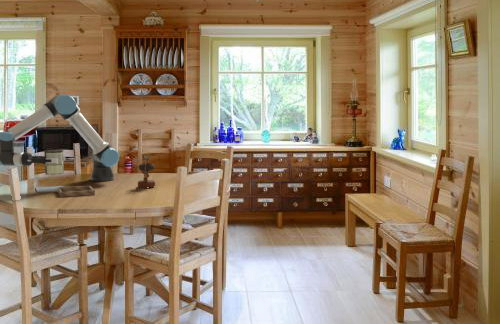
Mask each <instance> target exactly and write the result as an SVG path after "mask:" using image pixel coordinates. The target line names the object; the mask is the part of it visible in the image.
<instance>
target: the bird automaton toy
mask: <svg viewBox="0 0 500 324" xmlns="http://www.w3.org/2000/svg"><path fill="white" fill-rule="evenodd" d="M142 161H143V163H140V164H138V170H139V171H140V172H141V171H142V174H143V179H141V180H138V181H137V188H138V187H141V188H140V189H148V188H147V187H154V186H155V187H156V181H155V180H153V179H148V178H149V177H150V174H149V172H150V171H154V168H155V165H154V163H149V161H150V156H149V155H148V154H146V155H144V157H143V158H142ZM155 187H154V188H155Z"/></svg>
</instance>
